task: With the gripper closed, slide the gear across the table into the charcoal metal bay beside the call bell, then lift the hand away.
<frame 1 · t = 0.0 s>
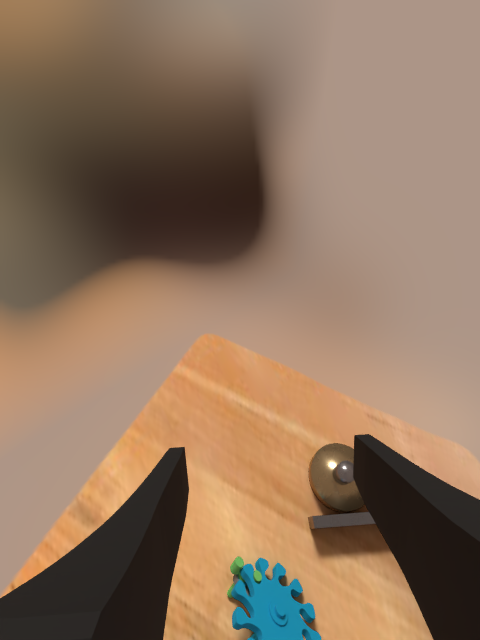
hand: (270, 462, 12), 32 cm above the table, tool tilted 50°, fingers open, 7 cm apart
metal bay: (365, 595, 33), on the table
call bell: (337, 477, 40), on the table
gear: (269, 603, 33), on the table
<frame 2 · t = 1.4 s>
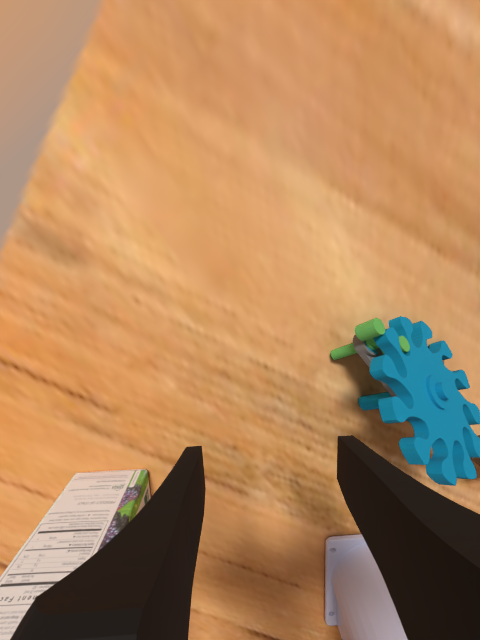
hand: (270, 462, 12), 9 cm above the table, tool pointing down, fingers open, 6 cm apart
gear: (388, 364, 22), on the table
syrup box: (115, 497, 23), on the table
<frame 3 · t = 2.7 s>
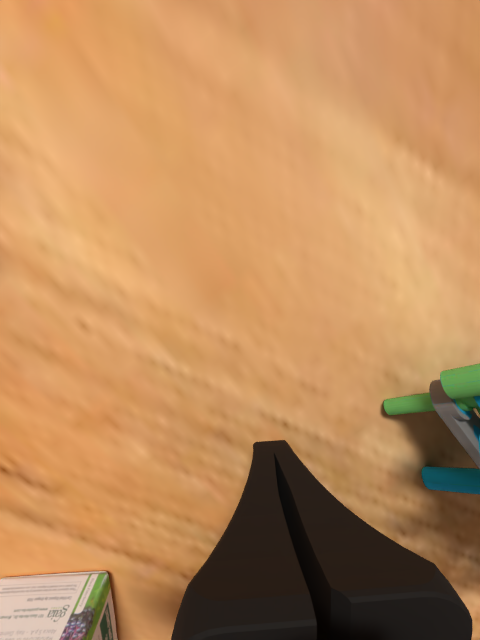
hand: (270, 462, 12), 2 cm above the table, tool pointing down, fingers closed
gear: (467, 419, 15), on the table
syrup box: (64, 606, 16), on the table
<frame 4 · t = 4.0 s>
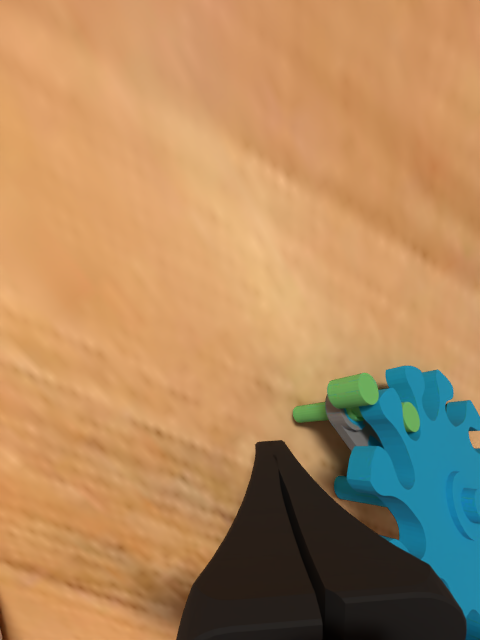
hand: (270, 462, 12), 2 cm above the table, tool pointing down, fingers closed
gear: (382, 428, 14), on the table, touching gripper
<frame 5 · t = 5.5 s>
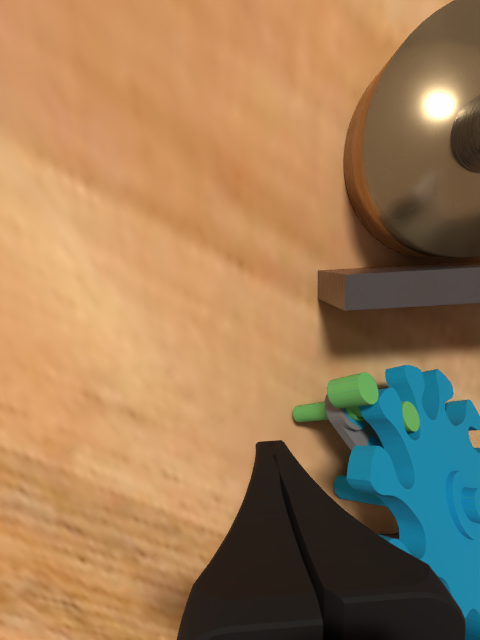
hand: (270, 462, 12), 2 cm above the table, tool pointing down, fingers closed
metal bay: (418, 424, 14), on the table
call bell: (442, 155, 12), on the table
gear: (382, 428, 14), on the table, touching gripper
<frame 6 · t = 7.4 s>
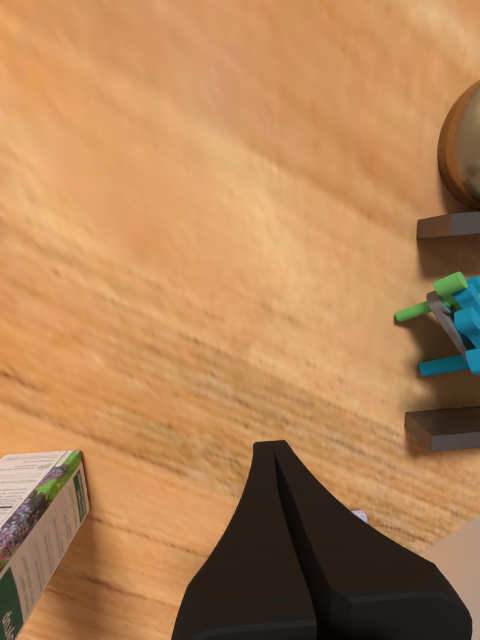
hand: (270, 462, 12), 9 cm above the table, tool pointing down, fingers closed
metal bay: (478, 326, 21), on the table
gear: (450, 330, 21), on the table
syrup box: (50, 479, 23), on the table
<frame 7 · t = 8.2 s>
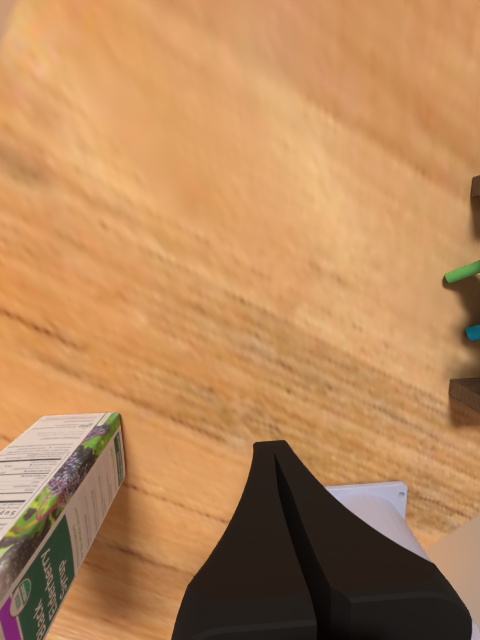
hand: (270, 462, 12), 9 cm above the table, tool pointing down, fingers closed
syrup box: (86, 443, 22), on the table
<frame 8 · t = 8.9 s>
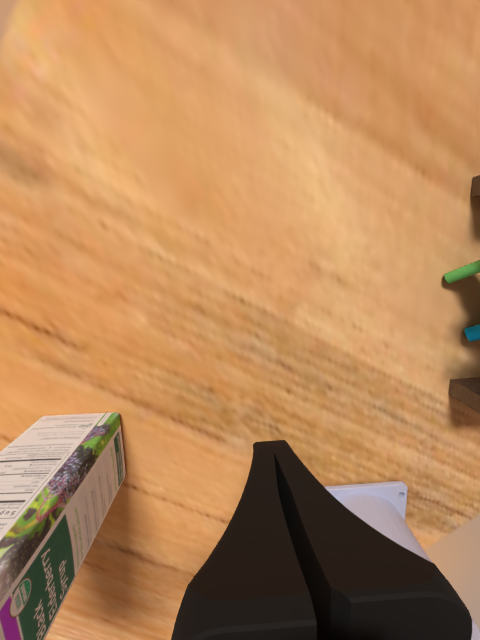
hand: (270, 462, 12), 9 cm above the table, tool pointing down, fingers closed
syrup box: (86, 443, 22), on the table
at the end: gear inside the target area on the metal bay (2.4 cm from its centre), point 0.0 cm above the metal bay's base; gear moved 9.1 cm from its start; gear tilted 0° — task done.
